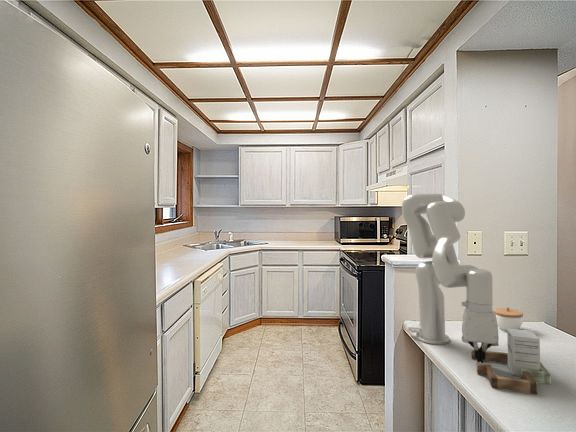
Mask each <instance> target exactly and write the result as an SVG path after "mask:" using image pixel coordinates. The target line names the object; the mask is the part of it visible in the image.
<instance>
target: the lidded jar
mask: <svg viewBox="0 0 576 432" xmlns="http://www.w3.org/2000/svg"><path fill="white" fill-rule="evenodd" d="M493 311H494V312H495V313H496V317H497V324H498V328H499V329H500V330H502V331H505V332H507V329H518V330H520V328H521V327H522V326H523V322H524V313H523V312H522V311H520V310H518V309H514V308H510V307H496V308H494V309H493Z"/></svg>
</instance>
